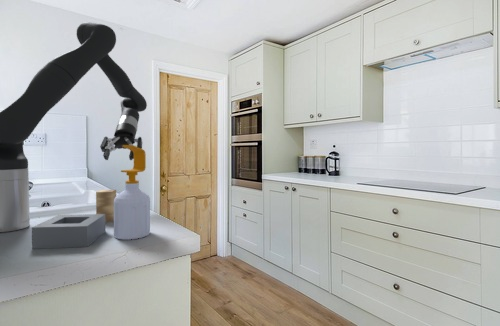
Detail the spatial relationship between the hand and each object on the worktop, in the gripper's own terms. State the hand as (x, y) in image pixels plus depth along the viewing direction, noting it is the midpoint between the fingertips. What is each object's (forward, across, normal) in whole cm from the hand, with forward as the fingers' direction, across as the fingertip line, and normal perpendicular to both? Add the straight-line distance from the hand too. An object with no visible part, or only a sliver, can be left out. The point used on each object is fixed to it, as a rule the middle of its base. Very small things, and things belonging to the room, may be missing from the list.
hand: (118, 158), depth 102 cm
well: (+36, -2, -9) cm, 37 cm away
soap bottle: (+35, +12, -7) cm, 37 cm away
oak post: (+23, 0, +5) cm, 23 cm away
